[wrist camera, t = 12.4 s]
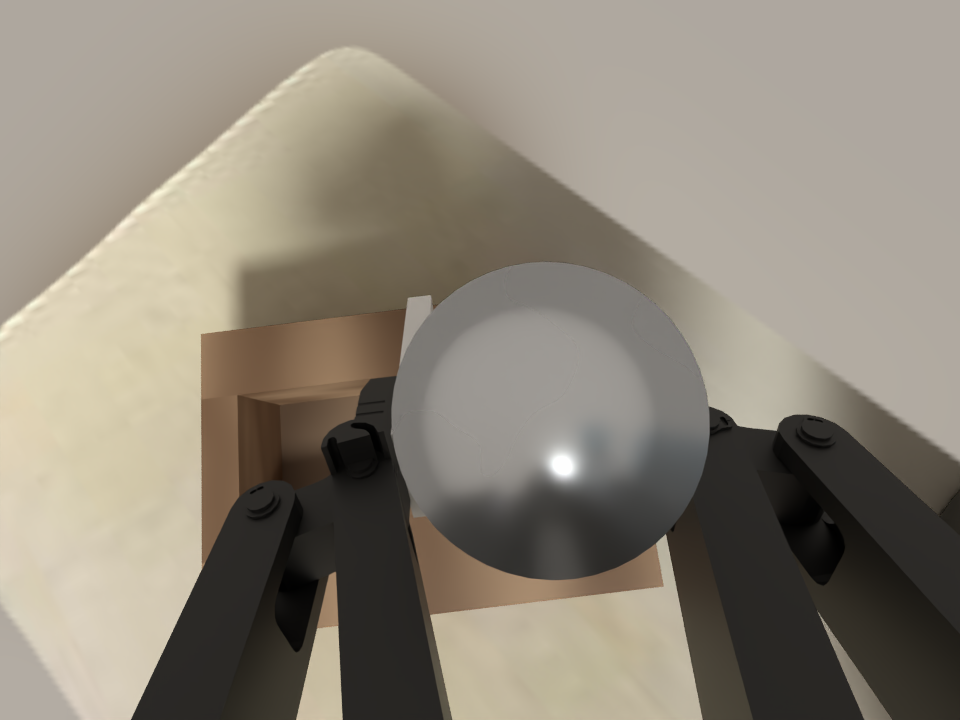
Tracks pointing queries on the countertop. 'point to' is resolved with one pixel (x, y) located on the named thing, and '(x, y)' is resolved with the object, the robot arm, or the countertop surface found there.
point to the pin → (550, 420)
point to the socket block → (300, 462)
